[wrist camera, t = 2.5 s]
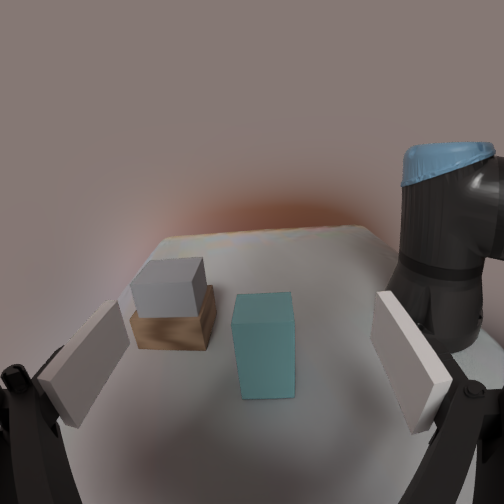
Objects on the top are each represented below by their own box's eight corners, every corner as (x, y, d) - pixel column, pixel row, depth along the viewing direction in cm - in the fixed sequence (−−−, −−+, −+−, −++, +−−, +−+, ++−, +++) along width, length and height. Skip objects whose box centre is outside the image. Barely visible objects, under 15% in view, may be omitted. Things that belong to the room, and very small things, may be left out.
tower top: (207, 287, 41) (202, 256, 39) (198, 316, 34) (191, 281, 32) (156, 290, 41) (149, 260, 40) (138, 317, 34) (129, 284, 33)
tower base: (216, 312, 43) (212, 284, 42) (206, 351, 35) (199, 320, 33) (159, 313, 44) (152, 287, 42) (138, 349, 35) (129, 319, 34)
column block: (291, 364, 31) (290, 291, 28) (294, 397, 26) (294, 321, 23) (245, 366, 31) (237, 294, 28) (242, 399, 27) (231, 324, 23)
